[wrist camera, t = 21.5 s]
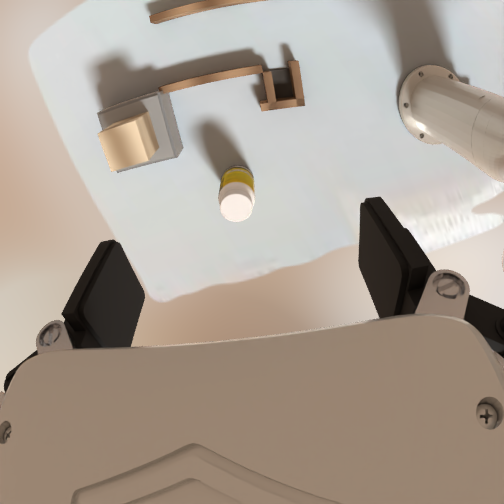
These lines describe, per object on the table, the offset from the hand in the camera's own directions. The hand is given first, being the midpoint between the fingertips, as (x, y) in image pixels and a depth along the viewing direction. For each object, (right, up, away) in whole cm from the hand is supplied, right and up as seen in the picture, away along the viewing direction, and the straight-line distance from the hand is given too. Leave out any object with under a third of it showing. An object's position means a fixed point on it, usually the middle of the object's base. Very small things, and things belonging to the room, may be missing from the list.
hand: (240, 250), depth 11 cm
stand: (-14, +17, +27) cm, 35 cm away
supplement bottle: (-2, +10, +33) cm, 34 cm away
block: (-14, +15, +24) cm, 31 cm away
